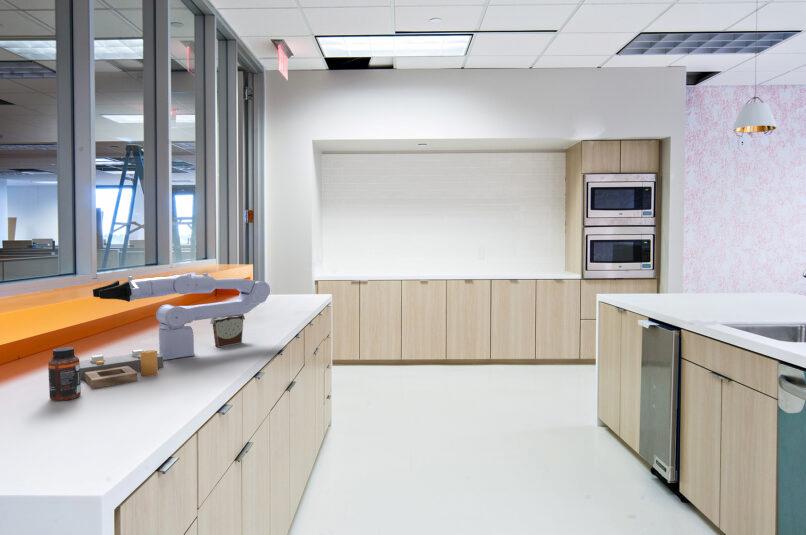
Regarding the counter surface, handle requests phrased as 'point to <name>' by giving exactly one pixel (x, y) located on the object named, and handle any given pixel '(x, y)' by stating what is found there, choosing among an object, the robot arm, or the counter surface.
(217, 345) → the food container
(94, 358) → the white cube
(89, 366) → the breaker panel
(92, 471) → the counter surface
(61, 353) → the supplement bottle
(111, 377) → the frame
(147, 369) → the cap
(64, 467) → the counter surface
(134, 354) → the block
